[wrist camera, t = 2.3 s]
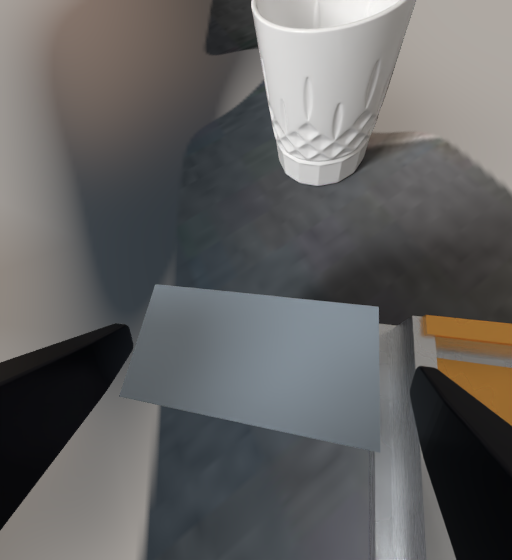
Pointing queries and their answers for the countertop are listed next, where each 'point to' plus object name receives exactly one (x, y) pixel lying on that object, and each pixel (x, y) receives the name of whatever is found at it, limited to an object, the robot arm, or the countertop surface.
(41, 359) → the robot arm
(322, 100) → the white cup
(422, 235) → the countertop surface
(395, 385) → the rack
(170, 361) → the blue-grey rectangular block
